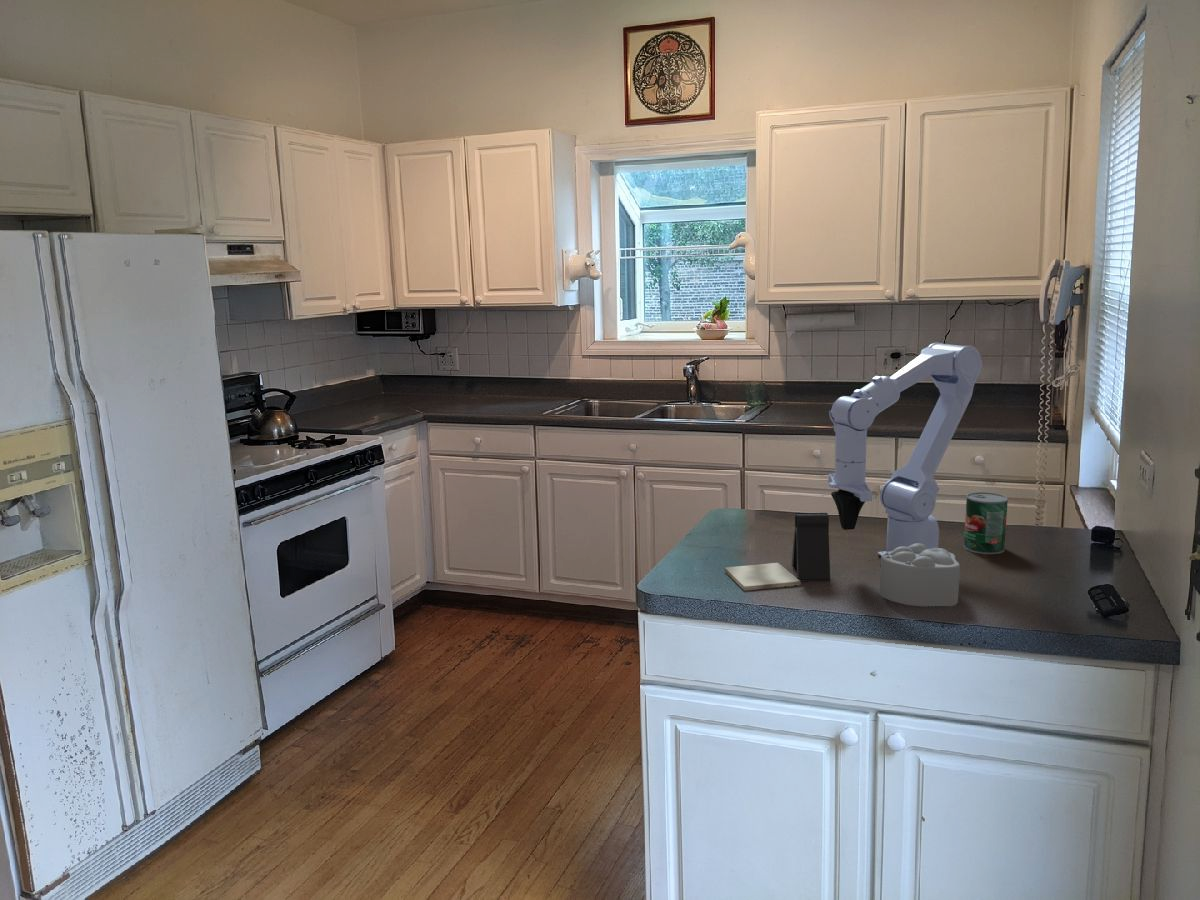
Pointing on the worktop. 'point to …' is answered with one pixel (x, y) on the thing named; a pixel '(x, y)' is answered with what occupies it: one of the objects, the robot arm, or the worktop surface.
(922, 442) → the robot arm
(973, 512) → the canned tomato
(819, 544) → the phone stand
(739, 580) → the birch board
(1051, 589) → the worktop surface
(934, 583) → the lumpy-topped squat cylinder
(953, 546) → the worktop surface
